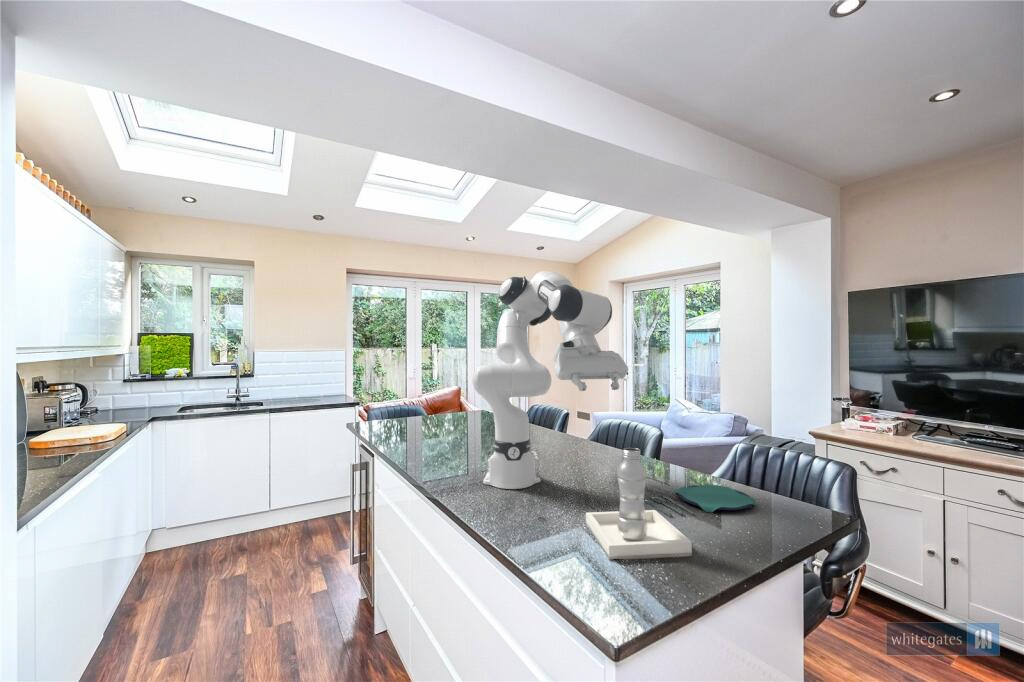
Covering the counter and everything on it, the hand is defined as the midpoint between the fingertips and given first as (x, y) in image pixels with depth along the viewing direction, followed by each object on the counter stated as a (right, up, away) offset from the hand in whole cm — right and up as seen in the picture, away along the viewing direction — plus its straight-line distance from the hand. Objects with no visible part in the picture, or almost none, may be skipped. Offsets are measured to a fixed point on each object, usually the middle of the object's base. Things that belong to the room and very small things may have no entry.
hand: (600, 389), depth 112 cm
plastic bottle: (+4, -32, -15) cm, 36 cm away
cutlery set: (+30, -34, +10) cm, 47 cm away
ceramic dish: (+5, -33, -13) cm, 36 cm away
